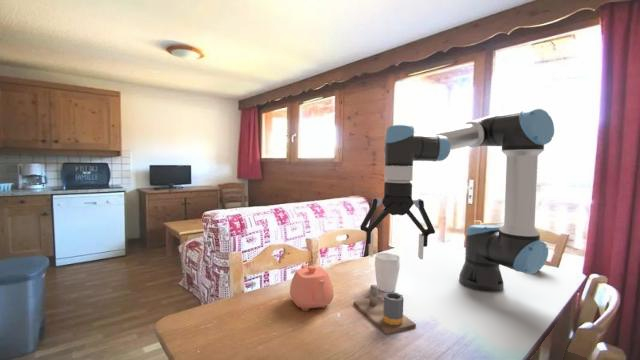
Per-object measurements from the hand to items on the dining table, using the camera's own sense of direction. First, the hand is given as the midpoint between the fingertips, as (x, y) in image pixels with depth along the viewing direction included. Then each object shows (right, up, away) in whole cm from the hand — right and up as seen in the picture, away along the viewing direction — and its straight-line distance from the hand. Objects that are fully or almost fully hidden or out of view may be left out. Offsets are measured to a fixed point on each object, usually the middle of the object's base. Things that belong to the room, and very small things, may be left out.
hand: (395, 256), depth 84 cm
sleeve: (-1, -19, +1) cm, 19 cm away
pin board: (-3, -19, +6) cm, 20 cm away
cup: (+3, -18, +25) cm, 31 cm away
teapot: (-24, -19, +11) cm, 32 cm away
